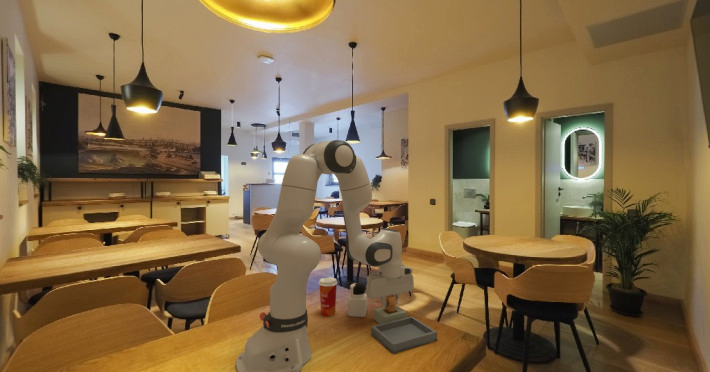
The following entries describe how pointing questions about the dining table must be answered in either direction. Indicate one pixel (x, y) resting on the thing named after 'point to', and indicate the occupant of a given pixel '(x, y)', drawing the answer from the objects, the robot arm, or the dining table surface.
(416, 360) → the dining table surface
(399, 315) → the socket block
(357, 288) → the medicine bottle
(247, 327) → the dining table surface
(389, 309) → the pin
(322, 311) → the paper cup
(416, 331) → the tray
